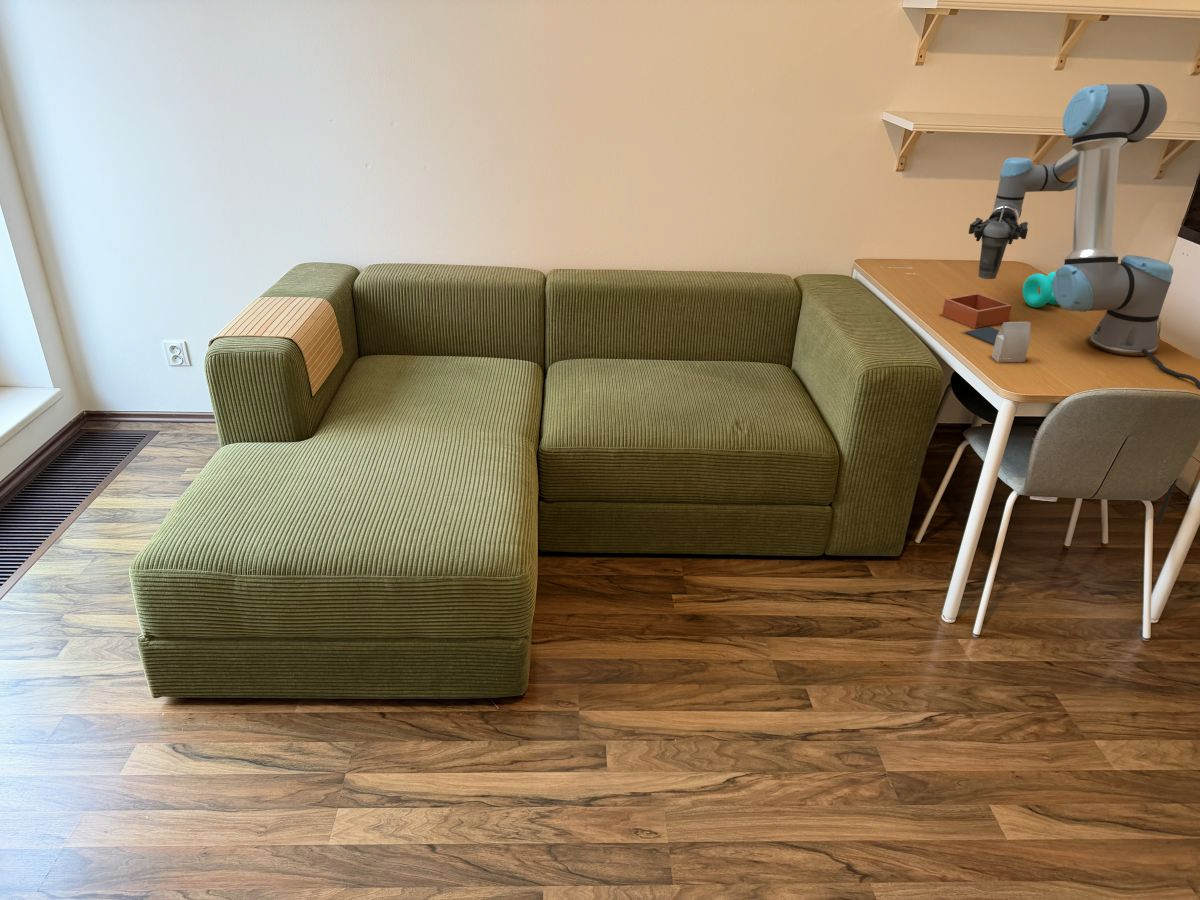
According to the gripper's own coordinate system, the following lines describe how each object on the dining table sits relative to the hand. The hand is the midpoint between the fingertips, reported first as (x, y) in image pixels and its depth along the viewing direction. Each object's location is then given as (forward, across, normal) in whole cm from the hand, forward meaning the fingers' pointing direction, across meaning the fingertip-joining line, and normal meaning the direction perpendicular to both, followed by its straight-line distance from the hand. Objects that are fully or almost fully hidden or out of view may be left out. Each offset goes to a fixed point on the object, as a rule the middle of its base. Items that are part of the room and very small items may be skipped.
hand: (994, 237), depth 214 cm
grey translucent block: (+22, -10, -26) cm, 35 cm away
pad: (+6, -5, -25) cm, 26 cm away
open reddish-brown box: (-7, +1, -25) cm, 26 cm away
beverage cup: (-5, 0, -12) cm, 13 cm away
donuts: (-29, -16, -25) cm, 41 cm away
